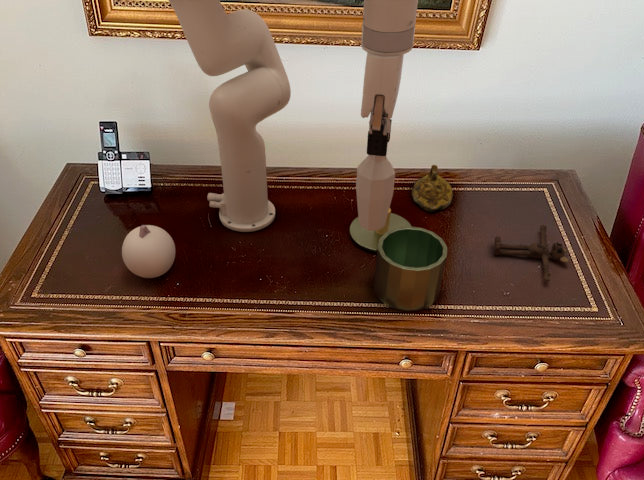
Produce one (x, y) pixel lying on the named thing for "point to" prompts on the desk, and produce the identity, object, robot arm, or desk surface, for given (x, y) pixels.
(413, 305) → the tin
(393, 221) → the lid
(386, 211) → the low poly bottle
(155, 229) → the ornament
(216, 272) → the desk surface
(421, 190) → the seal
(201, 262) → the desk surface
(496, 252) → the brown thin branching figure
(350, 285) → the desk surface
